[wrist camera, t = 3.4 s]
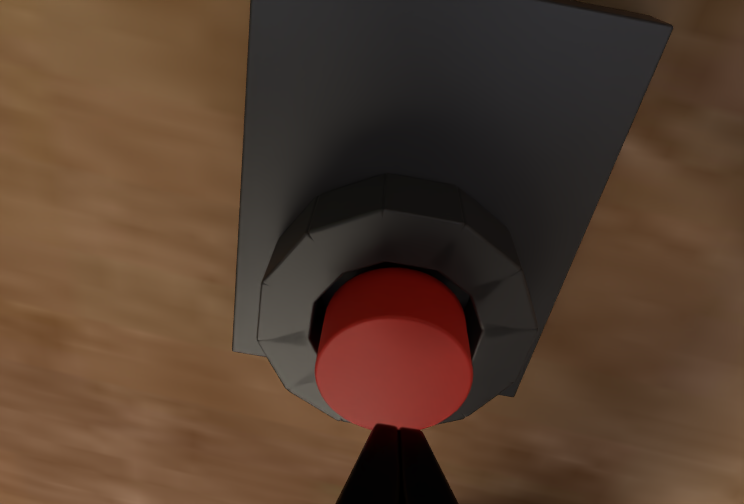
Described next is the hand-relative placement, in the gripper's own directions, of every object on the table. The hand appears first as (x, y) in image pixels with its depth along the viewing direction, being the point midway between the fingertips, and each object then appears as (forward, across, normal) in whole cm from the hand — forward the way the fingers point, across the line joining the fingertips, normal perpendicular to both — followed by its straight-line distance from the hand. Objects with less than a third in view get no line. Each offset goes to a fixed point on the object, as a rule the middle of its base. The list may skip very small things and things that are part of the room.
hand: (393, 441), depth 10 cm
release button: (+3, 0, 0) cm, 3 cm away
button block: (+6, 0, -2) cm, 6 cm away
